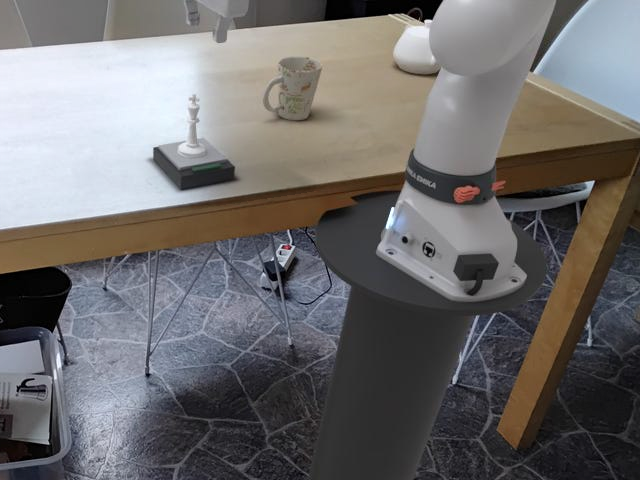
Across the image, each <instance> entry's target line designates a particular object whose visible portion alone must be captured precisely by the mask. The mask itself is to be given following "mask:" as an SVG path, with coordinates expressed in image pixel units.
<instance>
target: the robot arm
mask: <svg viewBox="0 0 640 480" xmlns="http://www.w3.org/2000/svg"><path fill="white" fill-rule="evenodd" d="M182 2H183V5H184V9H185V22H186V24H188V25H189V26H190V27H195V26H196V27H197V26H199V25H200V23H201V20H200V19H201V13H200V12H199V8H198V6H199V5H198V3H199V4H201V5H203V6H204V7H206V8H208V9H209V10H211V11H213V12H214V13H215V19H216V20H217V22H216V25H215V28H212V36H211V38H212V39H211V40H212V41H214V42H215V43H217V44H224V43H226V42H227V40H228V31H229V28H230V27H231V24H232V22H233V19H234V18H241V17H244V16H246V14H247V13H248V10H249V5H250V0H182ZM556 4H557V0H442V2H441V3H440V4H439V7H438V8H437V10H436V12H435V14H434V16H433V18H432V19H431V20H432V23H431V26H430V31H429V44H430V49H431V52H432V54H433V56H434V58H435V60H436V61H437V63H438V64H439V65H440V66H441V69H440V70H439V71H438V74H437V76H436V79H435V81H434V83H433V85H432V87H431V89H430V91H429V93H428V96H427V98H426V101H425V104H424V105H425V106H424V109H423V113H422V118H421V121H420V125H419V129H418V134H417V136H416V140H415V144H414V147H413V148H412V149H411V150H410V152H409V155H408V159H407V160H406V164H405V170H404V182H403V183H404V184H403V186H402V188H401V190H402V191H401V193H400V195H399V198H398V200H397V203H396V205H395V208H393V207H392V209H391V213H390V216H389V219H388V222H387V225H386V226H385V228H384V229H383V231H382V233H381V243H380V244H379V245H378V248H377V250H376V254H377V256H379V257H380V258H382V259H384V260H385V261H387V262H388V263H390V264H392V265H393V266H395V267H397V268H398V269H400V270H402V271H403V272H405V273H406V274H408V275H410V276H411V277H413V278H415V279H416V280H418V281H420V282H421V283H423V284H424V285H426V286H428V287H429V288H431V289H433V290H434V291H436V292H438V293H439V294H441V295H442V296H444V297H446V298H448V299H449V300H452V301H458V302H478V301H485V300H491V299H494V298H498V297H502V296H505V295H508V294H510V293H513V292H515V291H516V290H518V289H519V288H521V287H522V286H523V285H524V283H525V281H526V277H527V275H526V273H525V272H524V271H523V270H522V269H521V268H520V267H519V266H518V265H517V264H516V263H514V261H515V256H516V252H517V238H516V236H515V234H514V232H513V231H512V226H511V223H510V221H509V220H510V219H509V220H507V219H506V218H507V217H506V215H505V214H504V211H503V209H502V208H501V207H502V206H501V205H500V203H499V202H498V200H497V198H496V194H497V190H501V189H505V187H504V186H503V185H504V184H506V182H507V181H506V180H501V181H497V164H496V161H497V157H498V154H499V151H500V148H501V145H502V143H503V139H504V136H505V134H506V130H507V128H508V125H509V121H510V119H511V116H512V112H513V110H514V108H515V106H516V103H517V101H518V99H519V96H520V94H521V92H522V89H523V87H524V85H525V83H526V80H527V78H528V75H529V73H530V70H531V68H532V66H533V63H534V62H535V61H534V60H535V59H536V56H537V53H538V51H539V48H540V46H541V43H542V41H543V38H544V36H545V33H546V30H547V28H548V25H549V23H550V20H551V18H552V15H553V12H554V10H555V7H556Z"/></svg>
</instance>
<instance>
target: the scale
mask: <svg viewBox="0 0 640 480" xmlns="http://www.w3.org/2000/svg"><path fill="white" fill-rule="evenodd" d="M186 141H187V140H181V141H177V142H171V143H164V144H159V145H157V146H153V147H152V148H153V149H152V161H153V162H154V163H155V164H156V165H157V166H158V167H159V168H160V170H162V171H163V172H164V173H165V175H167V177H168V178H169V179H170V180H171V181H172V182H173V183H174V184H175V185H176V187H177V188H178V189H180V191H182V190H187V189H192V188H197V187H202V186H203V187H204V186H208V185H212V184H217V183H222V182H228V181H233V180H235V171H236V166H235V165H234V164H233V163H232V162H231V161H230V160H229V159H228V158H226V157H225V156H224V155H223V154H222V153H221V152H220V151H219V150H218V149H217V148H215V146H213V145H212V144H211V143H210V142H209V141H208V140H207V139H205V137H199V138H197V141H198V142H199V143H201V144H203V145H204V146H205V147H206V154H205V155H204V156H202V157H198V158H187V157H183V156H181V155H180V154H179V153H178V147H179V145H181V144H182V143H185V142H186Z"/></svg>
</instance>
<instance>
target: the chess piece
mask: <svg viewBox="0 0 640 480" xmlns="http://www.w3.org/2000/svg"><path fill="white" fill-rule="evenodd" d="M188 101H190V102H191V101H192V103H189V104H188V105H187V110H188V113H189V117H187V119H186V122H187V123H189V124H190V125H189V129H188V137H187V139H186V140H185V141H186V142H185V143H182V144H181V145H179V147H178V153H179V154H180V155H181V156H183V157H187V158H198V157H202V156H204V155H205V154H206V147H205V146H204V145H203V144H201V143H199V142H198V141H197V139H198V135H197V134H198V133H197V124H198V123H200V118H199V117H198V114H199V111H200V108H201V106H200V104H199V103H198V102H200V97H197V93H192V96H189V97H188Z"/></svg>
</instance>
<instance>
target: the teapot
mask: <svg viewBox="0 0 640 480" xmlns="http://www.w3.org/2000/svg"><path fill="white" fill-rule="evenodd" d="M432 20H433V19H425V20H424V21H423V22H424V23H423V24H424V25H410V24H408V25H407V24H406V26H405V27H404V32H403V33H402V34H401V36H400V38H399V39H398V41H397V42H396V44H395V46H394V49H393V51H392V53H393V54H392V57H393V61H394V62H395V64H396V65H397V66H398V68H400V70H402V71H405V72H407V73H411V74H416V75H432V74H436V73H439V72H440V69H441V66H440V65H439V64H438V63H437V61H436V60H435V58H434V56H433V54H432V52H431V49H430V44H429V31H430V26H431V23H432Z"/></svg>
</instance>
